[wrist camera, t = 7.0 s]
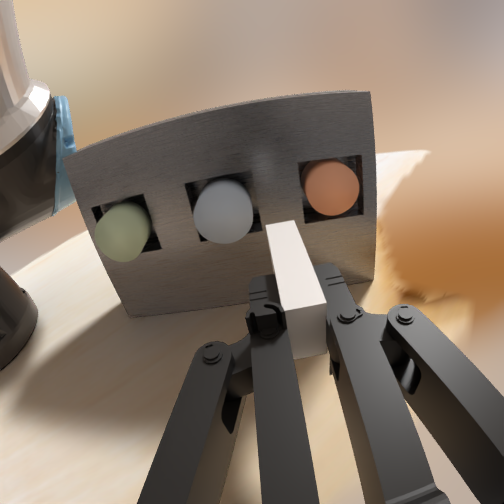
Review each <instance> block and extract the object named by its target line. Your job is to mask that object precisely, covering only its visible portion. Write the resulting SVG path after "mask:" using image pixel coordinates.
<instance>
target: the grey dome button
mask: <svg viewBox="0 0 504 504" xmlns="http://www.w3.org/2000/svg"><path fill="white" fill-rule="evenodd" d="M193 219H194V224H195V226H196V228H197V230H198V231H199V233H200V234H201V235H202V236H203V237H204V238H206V239H207V240H209V241H212V242H214V243H219V244H228V243H233V242H236V241H238V240H240V239H241V238H243V237H244V236H245V235H246V234H247V233H248V231H249V230H250V228H251V226H252V222H253V210H252V200H251V196H250V193H249V191H248V190H247V189H246V187H245V186H244V185H243V184H241V183H240V182H238V181H236V180H233V179H229V178H221V179H216V180H213V181H211V182H210V183H208V184H207V185H206V186H205V187H204V188H203V189H202V191H201V193H200V195H199V198H198V200H197V203H196V206H195V209H194V214H193Z"/></svg>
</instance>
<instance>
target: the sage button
mask: <svg viewBox="0 0 504 504" xmlns="http://www.w3.org/2000/svg"><path fill="white" fill-rule="evenodd" d="M151 230H152V223H151V219H150V217H149V215H148V213H147V212H146V210H145V209H144V208H143V207H141V206H140V205H138V204H136V203H134V202H130V201H122V202H118V203H116V204H115V205H113V206H112V207H111V208H110V209H109V211H108V212H107V213H106V214H105V215H104V216H103V217H102V218H101V219H100V220H99V222H98V223H97V225H96V228H95V240H96V243H97V245H98V247H99V249H100V250H101V251H102V253H103V254H105V255H106V256H107V257H109V258H110V259H112V260H115V261H118V262H128V261H132V260H134V259H135V258H137V257H138V256H139V254H140V253H141V251H142V249H143V247H144V245H145V244H146V242H147V240H148V238H149V236H150V234H151Z"/></svg>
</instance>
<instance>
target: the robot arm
mask: <svg viewBox="0 0 504 504" xmlns="http://www.w3.org/2000/svg"><path fill="white" fill-rule="evenodd" d="M74 152H77V151H76V146H75V142H74V135H73V128H72V121H71V115H70V109H69V104H68V100H67V98H66V97H65V96H57V97H56V96H55V97H53V98H52V97H51V94H50V90H49V88H48V86H47V85H46V84H45V83H44V82H42V81H38V80H33V79H30V78H29V76H28V72H27V69H26V65H25V61H24V57H23V53H22V48H21V44H20V39H19V35H18V30H17V25H16V19H15V13H14V6H13V0H0V243H1V242H2V241H4V240H6V239H8V238H10V237H12V236H13V235H15V234H17V233H19V232H21V231H22V230H25V229H27V228H29V227H31V226H33V225H35V224H37V223H38V222H41V221H43V220H45V219H47V218H49V217H51V216H54V215H56V214H57V212H59V211H60V210H62V209H64V208H65V207H67V206H69V205H71V204H73V203H74V202H75V201H76V198H75V195H74V193H73V190H72V187H71V184H70V181H69V178H68V175H67V172H66V169H65V166H64V163H63V160H62V158H64V157H66V156H68V155H70V154H72V153H74ZM265 226H266V231H267V237H268V243H269V249H270V255H271V261H272V267H273V272H274V274H269V275H264V276H258V277H253V278H252V280H251V281H250V283H249V285H248V286H249V300H250V309H249V310H248V312H247V313H246V317H245V319H246V323H247V326H248V330H249V333H248V335H247V336H246V337H245V338H243V339H242V340H240V341H239V342H237V343H234V344H232V345H229V346H228V345H227V344H225V343H223V342H219V341H215V342H209V343H207V344H204V345H203V346H201V347H200V348H199V349H198V350H197V352H196V353H195V355H194V358H193V360H192V363H191V365H190V368H189V370H188V373H187V375H186V378H185V380H184V383H183V385H182V388H181V390H180V393H179V395H178V398H177V401H176V403H175V406H174V408H173V411H172V413H171V416H170V418H169V421H168V423H167V426H166V429H165V431H164V434H163V436H162V439H161V442H160V444H159V447H158V449H157V452H156V454H155V457H154V460H153V462H152V465H151V468H150V470H149V473H148V475H147V478H146V481H145V483H144V486H143V489H142V491H141V494H140V497H139V499H138V502H137V504H219V502H220V498H221V494H222V491H223V487H224V483H225V479H226V475H227V472H228V468H229V464H230V460H231V456H232V452H233V448H234V444H235V440H236V436H237V432H238V428H239V424H240V420H241V416H242V412H243V408H244V404H245V400H246V395H247V394H250V393H252V392H254V402H255V416H256V430H257V443H258V456H259V469H260V482H261V495H262V504H319V497H318V491H317V485H316V480H315V474H314V468H313V462H312V456H311V451H310V445H309V440H308V434H307V428H306V423H305V417H304V412H303V407H302V401H301V396H300V391H299V385H298V380H297V375H296V370H295V365H294V360H295V359H301V358H306V357H311V356H316V355H321V354H326V353H327V347H328V350H329V354H330V375H332V373H333V376H334V380H335V384H336V387H337V391H338V394H339V398H340V402H341V406H342V409H343V413H344V417H345V421H346V424H347V428H348V432H349V436H350V440H351V444H352V448H353V452H354V456H355V460H356V464H357V469H358V473H359V477H360V482H361V486H362V490H363V495H364V499H365V504H450V501H449V499H448V497H447V496H446V494H445V493H444V492H442V491H441V490H439V489H438V488H437V487H436V485H435V482H434V479H433V476H432V473H431V470H430V467H429V464H428V461H427V458H426V455H425V452H424V449H423V447H422V444H421V441H420V438H419V436H418V433H417V430H416V428H415V425H414V422H413V420H412V417H411V414H410V412H409V409H408V407H407V404H406V402H405V400H406V401H407V403H408V404H409V405H410V407H411V408H412V409H413V411H414V412H415V413H416V415H417V416H418V417H419V419H420V420H421V421H422V423H423V424H424V425H425V427H426V428H427V429H428V431H429V432H430V434H432V436H433V438H434V439H435V440H436V442H437V443H438V445H439V446H440V447H441V449H442V450H443V452H444V453H445V454H446V456H447V457H448V458H449V460H450V461H451V463H452V464H453V465H454V467H455V468H456V470H457V471H458V473H459V474H460V475H461V477H462V478H463V480H464V481H465V483H466V484H467V486H468V487H469V488H470V490H471V491H472V493H473V494H474V495H475V497H476V498H477V500H478V501H479V502H480V503H481V504H504V397H503V396H502V395H501V394H500V392H499V391H498V390H497V389H496V388H495V387H494V386H493V385H492V384H491V382H490V381H489V380H488V379H487V378H486V377H485V376H484V375H483V374H482V373H481V372H480V371H479V370H478V368H477V367H476V366H475V365H474V364H473V363H472V362H471V361H470V360H469V359H468V358H467V357H466V356H465V355H464V354H463V353H462V352H461V351H460V350H459V349H458V348H457V347H456V346H455V345H454V344H453V343H452V342H451V341H450V340H449V339H448V338H447V337H446V336H445V335H444V334H443V333H442V332H441V331H440V330H439V329H438V328H437V327H436V326H435V325H434V324H433V323H432V322H431V321H430V320H429V319H428V318H427V317H426V316H425V315H424V314H423V313H422V312H421V311H420V310H419V309H417V308H416V307H414V306H412V305H408V304H399V305H396V306H394V307H392V308H391V309H390V311H389V312H388V315H384V314H370V313H366V312H365V311H364V310H363V308H362V307H360V306H358V305H356V303H355V301H354V299H353V297H352V295H351V293H350V291H349V289H348V287H347V285H346V283H345V281H344V279H343V277H342V275H341V273H340V271H339V269H338V268H337V267H336V266H335V265H333V264H332V263H325V264H320V265H314V266H312V263H311V261H310V258H309V256H308V253H307V251H306V248H305V246H304V243H303V241H302V238H301V236H300V234H299V231H298V229H297V226H296V224H295V221H294V220H292V221H286V222H280V223H274V224H269V225H265ZM37 317H38V310H37V307H36V305H35V303H34V302H33V300H32V299H31V297H30V295H29V294H28V293H27V292H26V291H25V290H24V289H23V288H20V287H19V286H18V285H17V283H16V282H15V281H14V280H13V279H12V278H11V277H10V276H9V275H8V274H7V273H6V272H5V271H4V270H3V269H2V268H1V267H0V370H1V369H2V368H3V367H4V366H6V365H7V364H8V363H9V362H10V361H11V360H12V359H13V358H14V357H15V356H16V355H17V354H18V352H19V351H20V350H21V349H22V347H23V346H24V345H25V343H26V342H27V340H28V339H29V337H30V335H31V334H32V332H33V330H34V327H35V325H36V322H37Z"/></svg>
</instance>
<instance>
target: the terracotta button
mask: <svg viewBox="0 0 504 504" xmlns="http://www.w3.org/2000/svg"><path fill="white" fill-rule="evenodd" d="M301 187H302V190H303V192H304V194H305V195H306V197H307V199H308V201H309V203H310V204H311V206H312V207H313V208H314V209H315V210H316V211H318V212H319V213H321V214H324V215H339V214H341V213H344V212H345V211H347V210H348V209H350V208H351V207H352V206H353V204H354V203H355V201H356V199H357V197H358V194H359V182H358V179H357V177H356V175H355V174H354V172H353V171H352V170H351V169H350V168H348V167H347V166H346V165H345V164H343V163H342V162H341V161H340V160H338V159H336V158H327V159H319V160H312V161H310V162H309V163H308V164H307V165H306V166H305V168H304V169H303V172H302V174H301Z"/></svg>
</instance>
